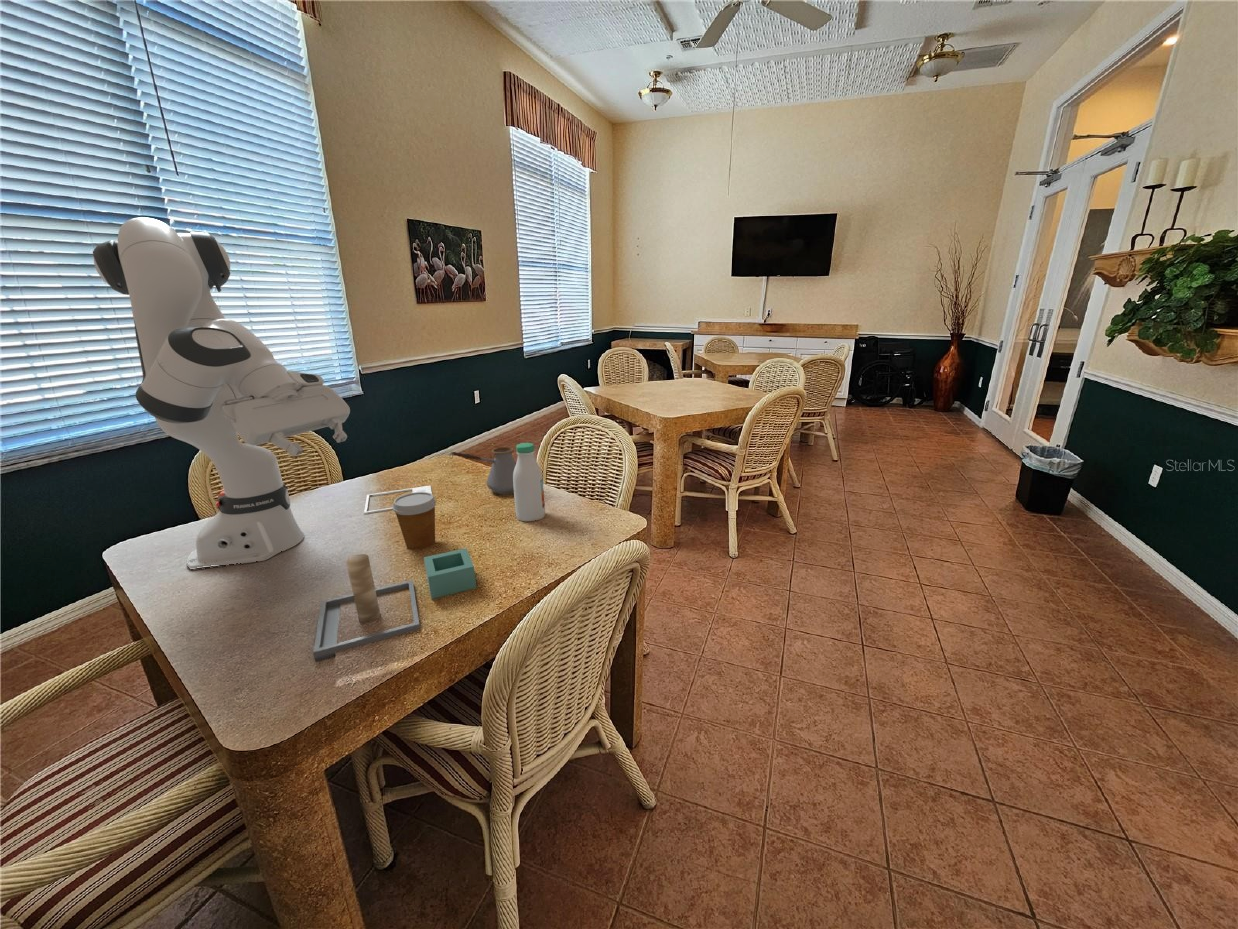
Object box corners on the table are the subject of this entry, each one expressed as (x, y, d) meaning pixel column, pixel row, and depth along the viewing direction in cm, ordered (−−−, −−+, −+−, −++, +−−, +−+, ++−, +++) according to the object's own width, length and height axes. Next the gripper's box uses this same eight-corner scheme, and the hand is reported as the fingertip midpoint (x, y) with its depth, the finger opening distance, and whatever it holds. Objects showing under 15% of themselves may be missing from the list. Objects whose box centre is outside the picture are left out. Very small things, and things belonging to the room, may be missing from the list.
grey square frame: (315, 661, 80) (313, 652, 79) (323, 609, 93) (321, 601, 93) (420, 632, 86) (419, 624, 85) (413, 587, 100) (412, 580, 99)
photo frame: (433, 501, 142) (363, 512, 135) (433, 504, 142) (364, 515, 136) (430, 484, 155) (366, 494, 148) (430, 488, 155) (367, 497, 148)
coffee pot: (516, 480, 159) (512, 435, 154) (531, 491, 150) (527, 443, 145) (449, 495, 147) (443, 447, 143) (462, 508, 138) (455, 457, 134)
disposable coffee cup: (428, 556, 112) (420, 508, 108) (391, 553, 114) (382, 505, 110) (449, 537, 121) (443, 492, 117) (415, 535, 123) (407, 490, 119)
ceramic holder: (432, 602, 95) (427, 577, 93) (427, 581, 102) (423, 557, 100) (477, 591, 98) (473, 566, 96) (469, 571, 105) (466, 548, 104)
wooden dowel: (358, 625, 87) (345, 566, 83) (359, 615, 90) (346, 556, 86) (380, 620, 89) (368, 561, 85) (380, 609, 92) (368, 552, 88)
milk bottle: (540, 523, 128) (534, 449, 122) (512, 521, 129) (505, 448, 123) (549, 511, 135) (544, 441, 129) (522, 509, 136) (515, 440, 130)
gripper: (219, 390, 83) (272, 451, 82) (327, 373, 101) (371, 423, 100) (209, 414, 86) (261, 473, 85) (316, 394, 104) (359, 442, 103)
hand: (321, 446), depth 93 cm, fingers open, 8 cm apart
